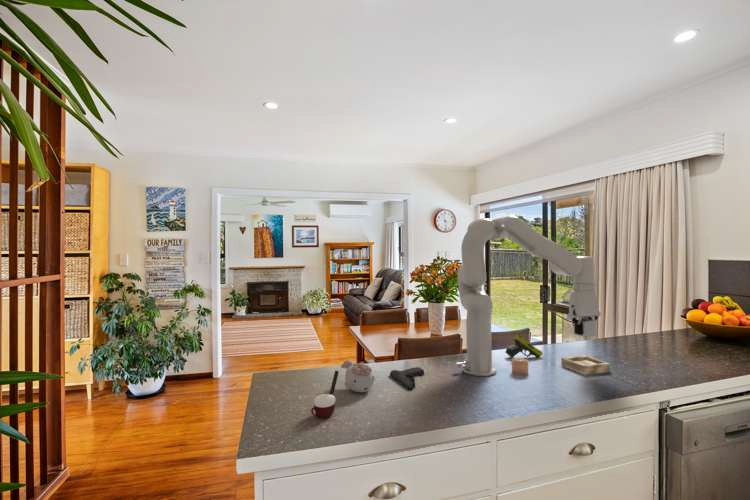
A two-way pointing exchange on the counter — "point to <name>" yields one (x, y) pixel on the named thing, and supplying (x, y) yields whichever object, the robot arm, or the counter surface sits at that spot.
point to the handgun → (407, 376)
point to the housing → (587, 327)
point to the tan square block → (520, 366)
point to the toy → (358, 376)
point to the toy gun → (522, 348)
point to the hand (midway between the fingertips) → (584, 333)
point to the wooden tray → (585, 365)
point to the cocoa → (325, 402)
